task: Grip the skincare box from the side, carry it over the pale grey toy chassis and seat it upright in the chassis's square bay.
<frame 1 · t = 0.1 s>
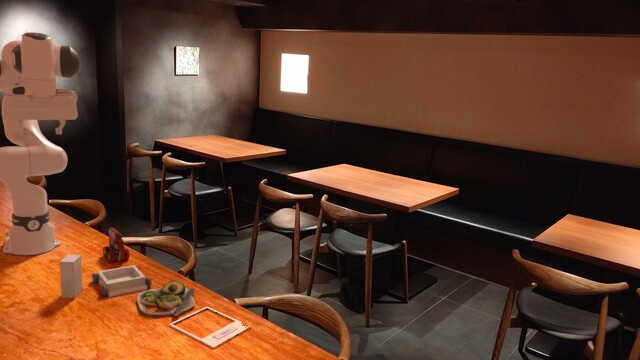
hand: (41, 134, 155), 48 cm above the table, tool pointing down, fingers open, 8 cm apart
skincare box: (72, 294, 158), on the table
photo frame: (210, 328, 145), on the table
toy fire truck: (116, 258, 187), on the table
avocado toast plate: (166, 304, 157), on the table
chassis: (121, 284, 167), on the table
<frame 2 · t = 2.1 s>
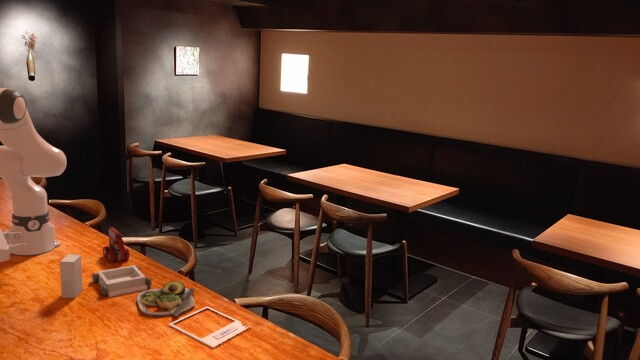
hand: (24, 240, 146), 20 cm above the table, tool horizontal, fingers open, 8 cm apart
nothing on the table moved.
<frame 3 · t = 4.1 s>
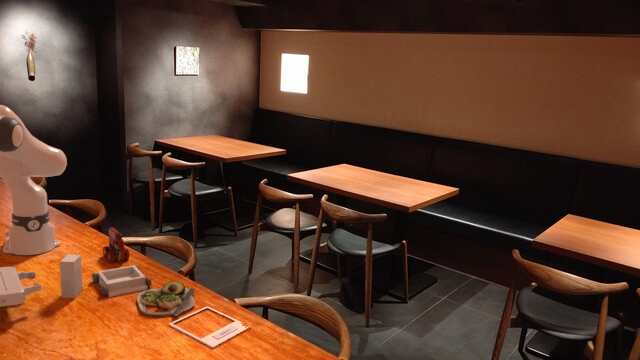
hand: (37, 280, 151), 6 cm above the table, tool horizontal, fingers open, 8 cm apart
nothing on the table moved.
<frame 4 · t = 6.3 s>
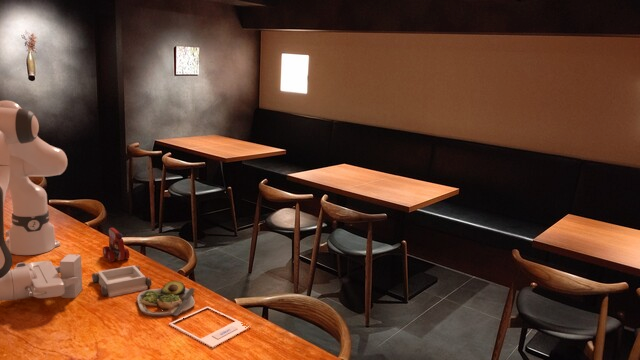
hand: (74, 273, 157), 7 cm above the table, tool horizontal, fingers closed on skincare box, 7 cm apart
skincare box: (71, 294, 158), on the table, touching gripper
everything else where it was.
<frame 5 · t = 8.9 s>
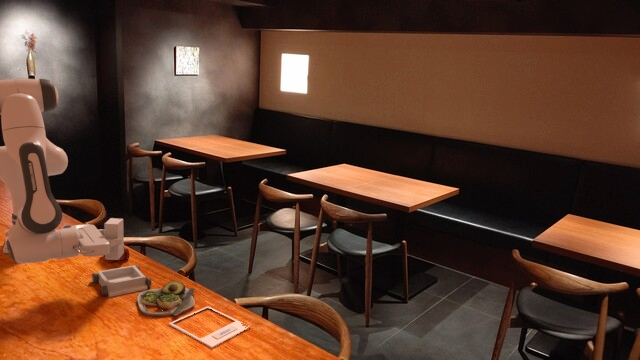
hand: (117, 236, 162), 17 cm above the table, tool horizontal, fingers closed on skincare box, 7 cm apart
skincare box: (114, 257, 163), point 10 cm above the table, touching gripper
everything else where it was.
when the fingers open (9 cm above the table, at t = 11.7 s): skincare box stays where it is, resting on chassis.
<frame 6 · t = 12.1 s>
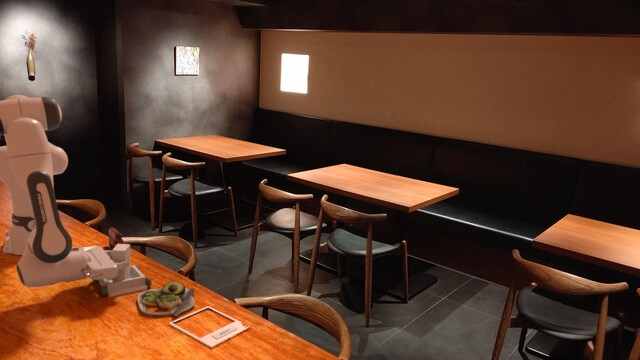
hand: (124, 258, 165), 9 cm above the table, tool horizontal, fingers open, 8 cm apart
skincare box: (121, 281, 166), point 1 cm above the table, touching chassis
everything else where it was.
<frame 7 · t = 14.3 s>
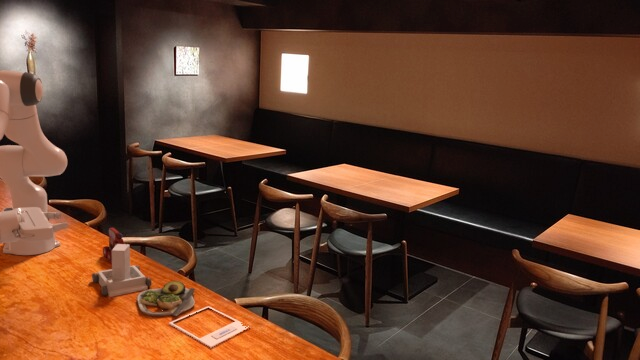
hand: (63, 219, 151), 24 cm above the table, tool horizontal, fingers open, 8 cm apart
nothing on the table moved.
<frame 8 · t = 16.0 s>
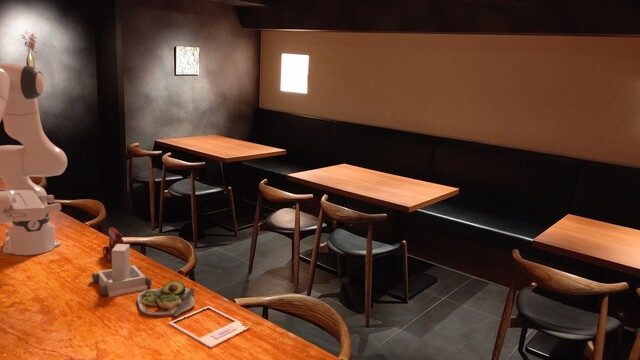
hand: (57, 202, 149), 30 cm above the table, tool horizontal, fingers open, 8 cm apart
nothing on the table moved.
at the end: skincare box inside the target area on the chassis (0.1 cm from its centre), point 0.8 cm above the chassis's base; skincare box tilted 0°; the gripper is holding nothing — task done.
